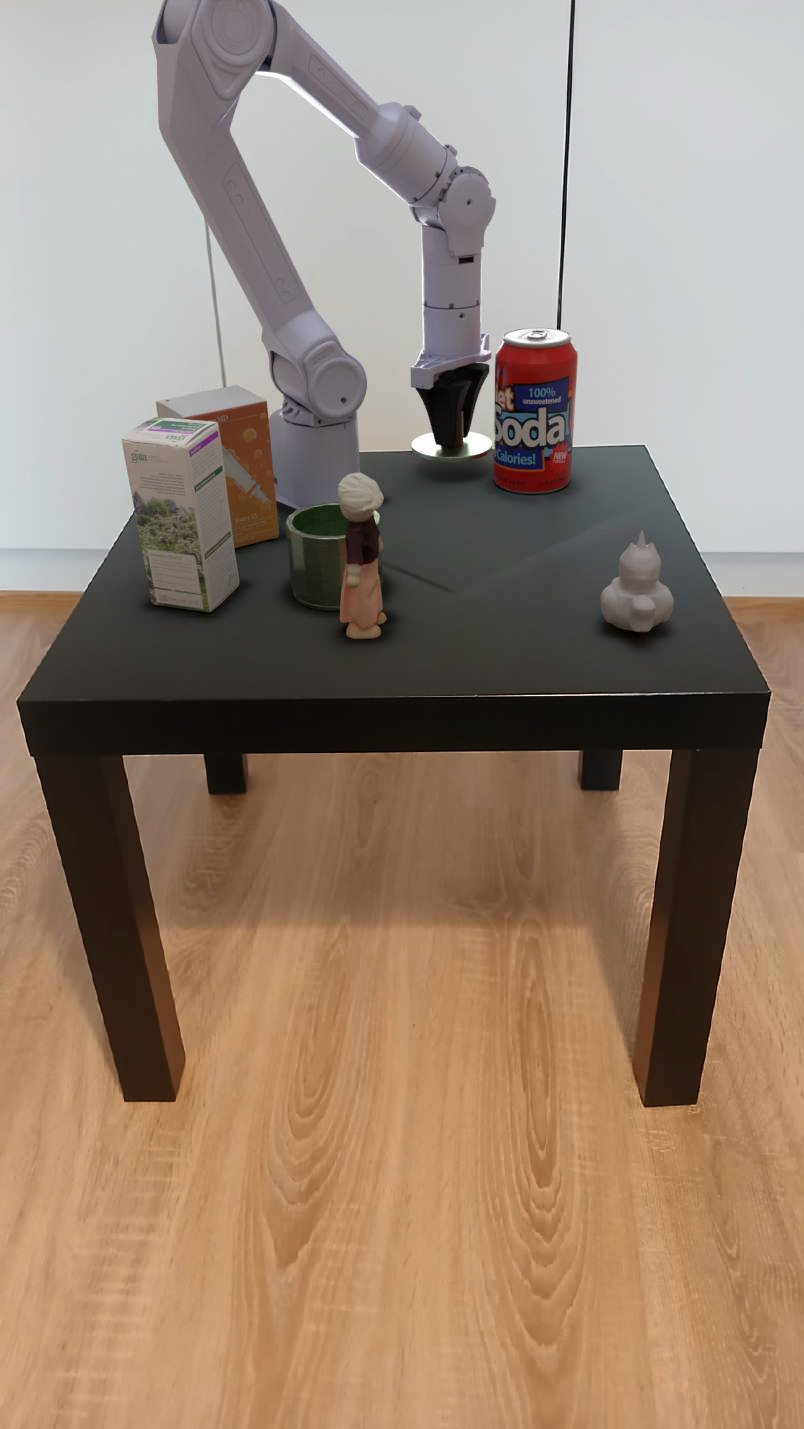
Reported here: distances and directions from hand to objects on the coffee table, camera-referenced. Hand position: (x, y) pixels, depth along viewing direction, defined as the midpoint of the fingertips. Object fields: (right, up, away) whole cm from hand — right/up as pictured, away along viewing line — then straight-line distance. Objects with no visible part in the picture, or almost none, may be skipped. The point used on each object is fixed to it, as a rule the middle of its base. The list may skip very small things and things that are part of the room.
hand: (451, 440), depth 109 cm
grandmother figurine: (-8, -22, -26) cm, 35 cm away
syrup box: (-23, -19, -20) cm, 35 cm away
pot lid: (0, -1, 0) cm, 1 cm away
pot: (-11, -18, -20) cm, 29 cm away
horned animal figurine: (+13, -22, -27) cm, 37 cm away
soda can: (+8, -5, -1) cm, 10 cm away
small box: (-22, -12, -10) cm, 27 cm away
